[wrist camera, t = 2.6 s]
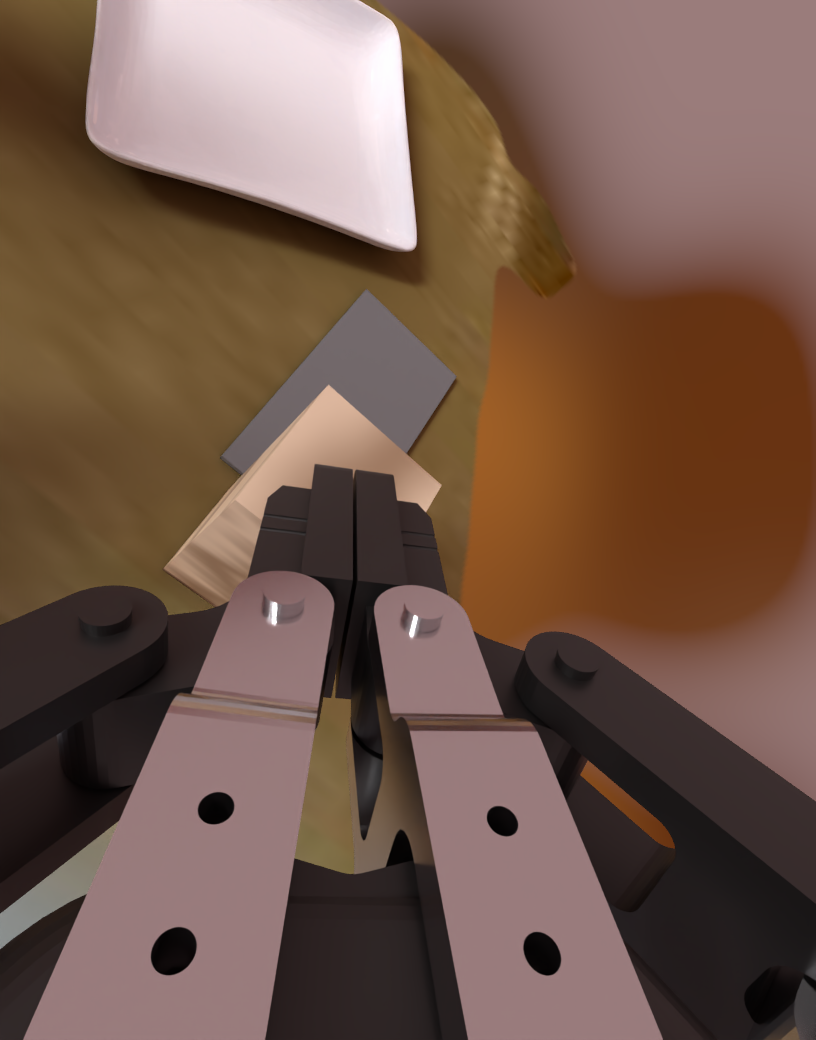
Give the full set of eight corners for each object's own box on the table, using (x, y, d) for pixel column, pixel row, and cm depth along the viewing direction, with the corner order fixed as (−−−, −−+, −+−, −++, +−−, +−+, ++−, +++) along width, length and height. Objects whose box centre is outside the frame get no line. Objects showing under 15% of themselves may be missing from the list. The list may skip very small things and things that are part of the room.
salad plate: (399, 279, 45) (423, 251, 43) (80, 183, 34) (84, 138, 32) (380, 56, 50) (401, 18, 47) (95, -90, 39) (99, -151, 36)
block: (162, 569, 31) (234, 499, 20) (230, 487, 34) (328, 384, 23) (254, 634, 33) (370, 605, 22) (311, 550, 36) (441, 485, 24)
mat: (219, 457, 34) (221, 455, 34) (363, 292, 43) (366, 288, 42) (339, 552, 37) (342, 551, 37) (453, 378, 45) (456, 376, 45)
